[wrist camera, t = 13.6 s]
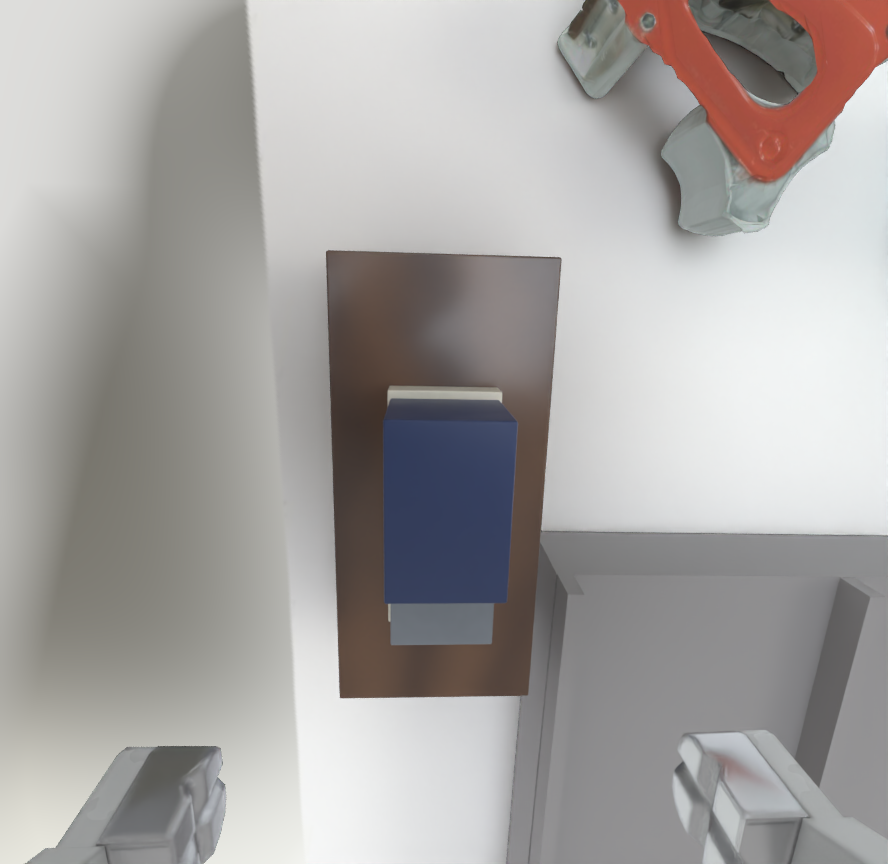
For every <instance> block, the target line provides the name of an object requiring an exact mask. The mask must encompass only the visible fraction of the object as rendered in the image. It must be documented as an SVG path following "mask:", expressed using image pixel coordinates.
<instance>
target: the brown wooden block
mask: <svg viewBox="0 0 888 864" xmlns="http://www.w3.org/2000/svg"><path fill="white" fill-rule="evenodd" d="M326 267H327V300H328V332H329V364H330V397H331V429H332V461H333V494H334V526H335V559H336V591H337V623H338V656H339V688H340V698H396V697H464V696H527V695H528V693H529V680H530V666H531V653H532V640H533V627H534V614H535V601H536V588H537V574H538V561H539V548H540V535H541V522H542V509H543V496H544V483H545V469H546V456H547V443H548V430H549V417H550V404H551V391H552V378H553V364H554V351H555V338H556V325H557V312H558V299H559V286H560V272H561V258H560V257H532V256H498V255H465V254H432V253H399V252H366V251H333V250H328V251H326ZM389 386H444V387H497V388H498V389H499V390H500V391H501V392H502V404H503V405H504V407H505V408H506V409H507V410H508V411H509V412H510V414H511V415H512V416H513V417H514V418H515V419H516V421H517V422H518V431H517V448H516V464H515V481H514V497H513V514H512V530H511V547H510V563H509V579H508V596H507V602H506V603H494V614H493V633H492V644H459V645H391V632H390V622H389V621H388V604H385V603H384V515H383V420H384V417H385V414H386V411H387V408H388V389H389Z"/></svg>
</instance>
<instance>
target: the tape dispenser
mask: <svg viewBox="0 0 888 864" xmlns="http://www.w3.org/2000/svg"><path fill="white" fill-rule="evenodd" d="M582 9H583V11H582V10H580V11H579V13H578V14H577V16H576V17H575V19H574V20H573V21H572V22H571V24H570V25H569V26H568V27H567V28H566V29H565V30H564V31H563V32H562V34H561V35H560V37H559V39H558V42H557V43H558V46H559V49H560V51H561V52H562V54H563V56H564V57H565V59H566V60H567V62H568V64H569V65H570V67H571V68H572V70H573V72H574V73H575V75H576V76H577V78H578V80H579V81H580V83H581V85H582V86H583V88H584V90H585V92H586V93H587V94H588V95H589V96H590V97H592V98H595V99H596V98H602V97H604V96H605V95H606V94H607V93H608V92H609V90H610V89H611V88H612V87H613V86H614V85H615V83H616V82H617V81H618V80H619V79H620V78H621V77H622V75H623V74H624V73H625V72H626V71H627V70H628V68H629V67H630V66H631V65H632V64H633V63H634V62H635V60H636V59H637V58H638V57H639V56H640V55H641V53H642V52H643V51H644V50H645V49H646V48H647V47H648V46H649V47H650V48H651V50H652V51H653V52H654V53H656V54H658V55H660V56H661V57H662V59H663V61H664V64H666V65H670V66H672V67H673V68H674V70H675V72H676V75H677V78H678V79H680V80H681V81H682V82H684V83H685V84H686V86H687V87H688V88H689V89H690V91H691V92H692V93H693V94H694V96H695V97H696V99H697V100H698V102H699V104H700V105H699V106H698V107H696V108H695V109H693V110H692V111H691V112H690V113H689V114H688V115H687V116H686V117H685V118H683V119H682V120H681V121H680V123H679V124H678V125H677V127H676V128H675V129H674V131H673V132H672V133H671V135H670V137H669V138H668V140H667V142H666V144H665V145H664V147H663V149H662V151H661V157H662V158H663V159H664V160H665V161H666V162H667V163H668V164H669V165H670V167H671V168H672V169H673V171H674V172H675V174H676V176H677V179H678V181H679V184H680V186H681V210H680V215H679V220H678V224H679V226H680V227H681V228H683V229H685V230H688V231H690V232H693V233H697V234H701V235H706V236H723V235H727V234H731V233H736V232H740V231H742V232H743V233H750V232H758V231H760V230H762V229H764V228H765V227H767V226H768V225H769V219H770V217H771V214H772V212H773V210H774V208H775V206H776V204H777V203H778V201H779V199H780V197H781V195H782V193H783V192H784V190H785V189H786V187H787V186H788V184H789V183H790V181H791V180H792V179H793V177H794V176H795V175H796V174H797V173H798V172H799V170H800V169H801V168H802V167H804V166H805V165H806V164H807V163H809V162H810V161H811V160H813V159H814V158H815V157H817V156H818V155H820V154H821V153H823V152H825V151H827V150H828V148H829V147H830V144H831V142H832V138H833V133H834V129H835V121H834V120H835V119H836V117H837V116H838V115H839V114H840V113H842V111H843V108H844V106H845V103H846V102H847V101H848V100H849V99H850V98H851V97H852V96H853V94H854V93H855V91H856V90H857V89H858V88H859V87H860V86H861V85H862V84H863V82H864V81H865V80H866V79H867V78H868V77H869V76H870V74H871V73H872V71H873V70H874V68H875V67H877V66H879V65H881V64H883V63H885V62H886V61H888V0H585V2H584V3H583V6H582ZM702 31H704V32H707V33H710V34H713V35H716V36H719V37H723V38H726V39H728V40H730V41H732V42H735V43H737V44H739V45H741V46H743V47H744V48H746V49H748V50H749V51H751V52H753V53H754V54H756V55H757V56H759V57H760V58H762V59H763V60H765V61H766V62H767V63H768V64H770V65H771V66H772V67H773V68H774V69H775V70H776V71H782V72H784V74H785V79H786V80H787V81H788V82H789V83H790V84H791V86H792V87H793V88H794V89H795V90H796V91H797V92H798V93H799V94H798V95H797V96H796V97H795V98H794V99H793V100H792V101H791V102H790V103H789V104H785V105H781V104H777V103H772V102H769V101H766V100H763V99H761V98H758V97H756V96H754V95H753V94H751V93H750V92H748V91H747V90H746V89H745V88H744V87H743V86H742V84H741V83H740V82H739V81H738V80H737V78H736V77H735V76H734V75H733V74H731V73H730V72H729V71H728V69H727V67H726V66H725V64H724V63H723V61H722V60H721V58H720V57H719V56H718V54H717V53H716V52H715V51H714V49H713V48H712V46H711V44H710V42H709V41H708V39H707V37H706V36H705V35H704V34H703V33H702Z"/></svg>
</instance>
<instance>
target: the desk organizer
mask: <svg viewBox="0 0 888 864" xmlns="http://www.w3.org/2000/svg"><path fill="white" fill-rule="evenodd" d="M744 730H767V731H769V732H770V733H772V734H773V735H774V736H775V737H776V738H777V739H778V740H779V741H780V743H781V744H782V745H783V746H784V747H785V749H786V750H787V751H788V752H789V753H790V754H791V756H792V757H793V758H794V759H795V760H796V762H797V763H798V764H799V765H800V766H801V768H802V769H803V770H804V771H805V772H806V773H807V775H808V776H809V777H810V778H811V779H812V781H813V782H814V783H815V784H816V785H817V787H818V788H819V789H820V790H821V791H822V792H823V794H824V795H825V796H826V797H827V798H828V800H829V801H830V802H831V803H832V804H833V806H834V807H835V808H836V809H837V810H838V811H839V813H840V814H841V815H842V816H843V817H853V818H854V819H856V820H858V821H859V822H861V823H862V824H864V825H865V826H867V827H869V828H870V829H872V830H873V831H875V832H876V833H878V834H879V835H881V836H883V837H884V838H886V839H887V840H888V536H855V535H778V534H701V533H624V532H547V531H541V535H540V548H539V561H538V574H537V588H536V601H535V614H534V627H533V640H532V653H531V666H530V680H529V693H528V695H527V696H521V699H520V711H519V723H518V735H517V746H516V758H515V770H514V781H513V793H512V805H511V817H510V828H509V840H508V852H507V863H506V864H703V863H702V859H703V850H704V848H703V847H702V846H701V845H700V844H699V843H698V842H696V841H695V840H694V839H693V838H692V837H690V836H689V835H688V834H687V832H686V830H685V828H684V826H683V824H682V822H681V820H680V818H679V815H678V812H677V809H676V806H675V802H674V796H673V789H672V782H673V774H674V770H675V769H676V768H677V766H678V765H679V764H680V763H681V762H682V761H683V759H682V757H681V755H680V754H679V752H678V744H679V739H680V737H681V736H682V735H683V734H684V733H690V732H715V731H744Z"/></svg>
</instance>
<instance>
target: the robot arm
mask: <svg viewBox="0 0 888 864" xmlns="http://www.w3.org/2000/svg"><path fill="white" fill-rule="evenodd" d="M678 752H679V754H680V755H681V757H682V759H683V761H682V762H681V763H680V764H679V765H678V766H677V768H676V769H675V770H674V774H673V782H672V789H673V796H674V802H675V806H676V809H677V812H678V815H679V818H680V820H681V822H682V824H683V826H684V828H685V830H686V832H687V834H688V835H689V836H690V837H692V838H693V839H694V840H695V841H696V842H698V843H699V844H700V845H701V846H702V847H703V848H704V850H703V859H702V863H703V864H888V840H887V839H886V838H884V837H883V836H881V835H879V834H878V833H876V832H875V831H873V830H872V829H870V828H869V827H867V826H865V825H864V824H862V823H861V822H859V821H858V820H856V819H854V818H853V817H843V816H842V815H841V814H840V813H839V811H838V810H837V809H836V808H835V807H834V806H833V804H832V803H831V802H830V801H829V800H828V798H827V797H826V796H825V795H824V794H823V792H822V791H821V790H820V789H819V788H818V787H817V785H816V784H815V783H814V782H813V781H812V779H811V778H810V777H809V776H808V775H807V773H806V772H805V771H804V770H803V769H802V768H801V766H800V765H799V764H798V763H797V762H796V760H795V759H794V758H793V757H792V756H791V754H790V753H789V752H788V751H787V750H786V749H785V747H784V746H783V745H782V744H781V743H780V741H779V740H778V739H777V738H776V737H775V736H774V735H773V734H772V733H770V732H769V731H767V730H744V731H715V732H690V733H684V734H683V735H682V736H681V737H680V739H679V744H678ZM222 765H223V761H222V754H221V748H219V747H216V746H158V747H126V748H125V749H124V750H123V751H122V752H120V753H119V754H118V755H117V756H116V758H115V759H114V761H113V762H112V764H111V765H110V767H109V768H108V770H107V771H106V773H105V774H104V776H103V777H102V779H101V780H100V782H99V783H98V785H97V786H96V788H95V789H94V791H93V792H92V794H91V795H90V797H89V798H88V800H87V801H86V803H85V804H84V806H83V807H82V809H81V810H80V812H79V813H78V815H77V816H76V818H75V819H74V821H73V822H72V824H71V825H70V827H69V828H68V830H67V831H66V833H65V834H64V836H63V837H62V839H61V840H60V842H59V843H58V845H57V846H56V848H46V849H44V850H42V851H41V852H40V853H38V854H37V855H36V856H35V857H33V858H32V859H31V860H30V861H28V862H27V863H25V864H204V863H205V862H206V860H208V859H209V858H210V856H212V855H213V854H214V851H215V848H216V846H217V843H218V840H219V837H220V834H221V830H222V825H223V821H224V816H225V809H226V788H225V784H224V783H223V782H222V781H221V780H220V779H219V778H218V775H219V772H220V770H221V767H222Z"/></svg>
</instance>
